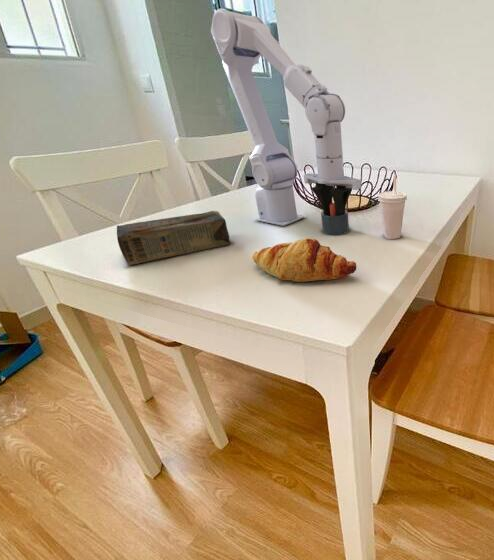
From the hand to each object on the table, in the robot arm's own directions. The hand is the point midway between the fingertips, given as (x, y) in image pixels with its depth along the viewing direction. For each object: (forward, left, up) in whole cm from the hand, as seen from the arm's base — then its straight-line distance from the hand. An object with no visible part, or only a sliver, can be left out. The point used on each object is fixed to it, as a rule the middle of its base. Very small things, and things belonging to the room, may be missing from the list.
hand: (334, 216), depth 81 cm
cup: (0, 0, -3) cm, 3 cm away
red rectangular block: (0, 0, -3) cm, 3 cm away
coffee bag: (-22, -25, -4) cm, 34 cm away
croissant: (+8, -21, -4) cm, 23 cm away
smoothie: (+14, +3, -4) cm, 15 cm away
